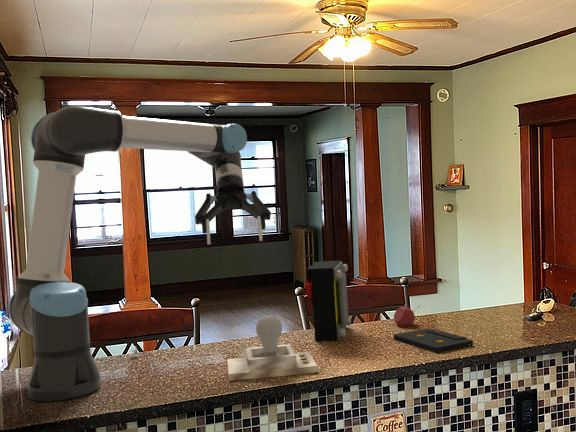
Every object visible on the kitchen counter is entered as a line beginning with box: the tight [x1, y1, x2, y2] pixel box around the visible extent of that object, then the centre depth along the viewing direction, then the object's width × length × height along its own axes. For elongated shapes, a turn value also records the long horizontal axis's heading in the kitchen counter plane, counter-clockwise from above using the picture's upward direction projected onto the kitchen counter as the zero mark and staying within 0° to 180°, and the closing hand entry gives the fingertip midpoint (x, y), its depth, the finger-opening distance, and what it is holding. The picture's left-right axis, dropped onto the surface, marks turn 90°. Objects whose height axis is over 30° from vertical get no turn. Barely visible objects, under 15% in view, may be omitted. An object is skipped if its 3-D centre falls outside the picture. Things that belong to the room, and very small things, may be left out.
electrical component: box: [304, 260, 352, 342], centre depth 173 cm, size 18×10×20 cm, turn 168°
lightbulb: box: [255, 314, 283, 357], centre depth 141 cm, size 6×6×11 cm
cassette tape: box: [393, 328, 474, 354], centre depth 157 cm, size 18×12×2 cm, turn 25°
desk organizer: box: [226, 344, 319, 382], centre depth 141 cm, size 20×13×4 cm, turn 97°
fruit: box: [393, 306, 420, 328], centre depth 179 cm, size 6×6×8 cm
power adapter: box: [129, 346, 139, 359], centre depth 160 cm, size 3×3×3 cm
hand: (235, 239), depth 157 cm, fingers open, 13 cm apart
